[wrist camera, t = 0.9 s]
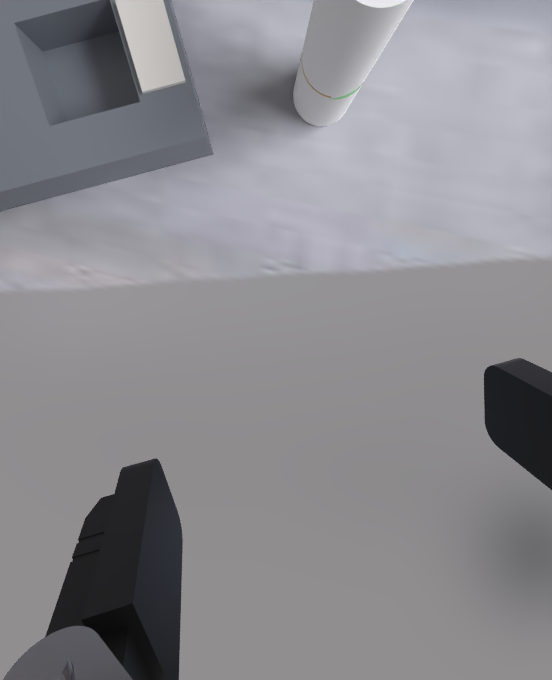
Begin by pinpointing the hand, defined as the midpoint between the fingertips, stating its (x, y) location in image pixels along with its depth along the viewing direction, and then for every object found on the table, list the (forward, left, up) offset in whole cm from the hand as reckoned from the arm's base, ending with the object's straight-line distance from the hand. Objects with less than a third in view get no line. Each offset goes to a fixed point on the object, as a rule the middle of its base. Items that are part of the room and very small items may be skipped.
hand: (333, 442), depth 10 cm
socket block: (-19, -14, -25) cm, 34 cm away
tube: (-15, +7, -25) cm, 30 cm away
